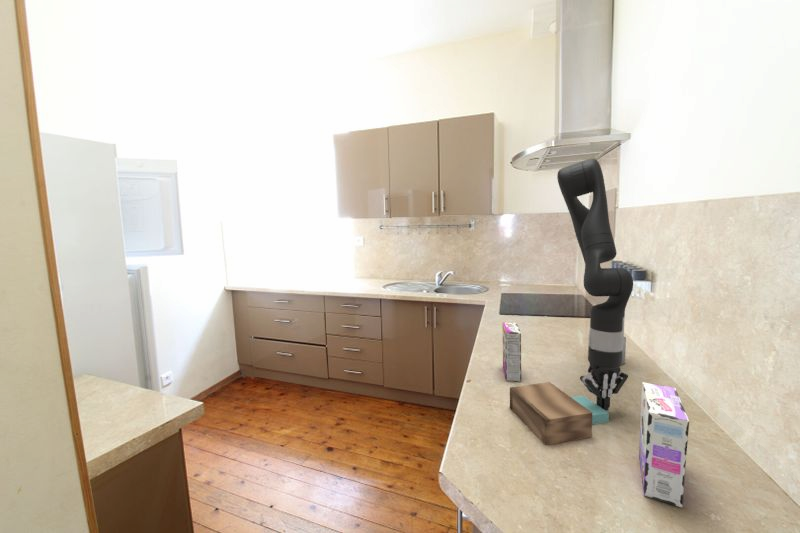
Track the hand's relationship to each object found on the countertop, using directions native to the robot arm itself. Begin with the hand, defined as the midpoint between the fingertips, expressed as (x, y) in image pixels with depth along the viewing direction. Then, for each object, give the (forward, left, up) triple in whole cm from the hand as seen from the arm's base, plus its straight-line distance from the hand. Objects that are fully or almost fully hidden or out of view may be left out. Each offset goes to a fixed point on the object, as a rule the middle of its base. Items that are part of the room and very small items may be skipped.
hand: (602, 409), depth 88 cm
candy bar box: (+11, -27, -1) cm, 29 cm away
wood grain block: (+15, 0, -1) cm, 15 cm away
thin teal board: (+10, -1, -2) cm, 10 cm away
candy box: (+7, +22, -1) cm, 23 cm away
